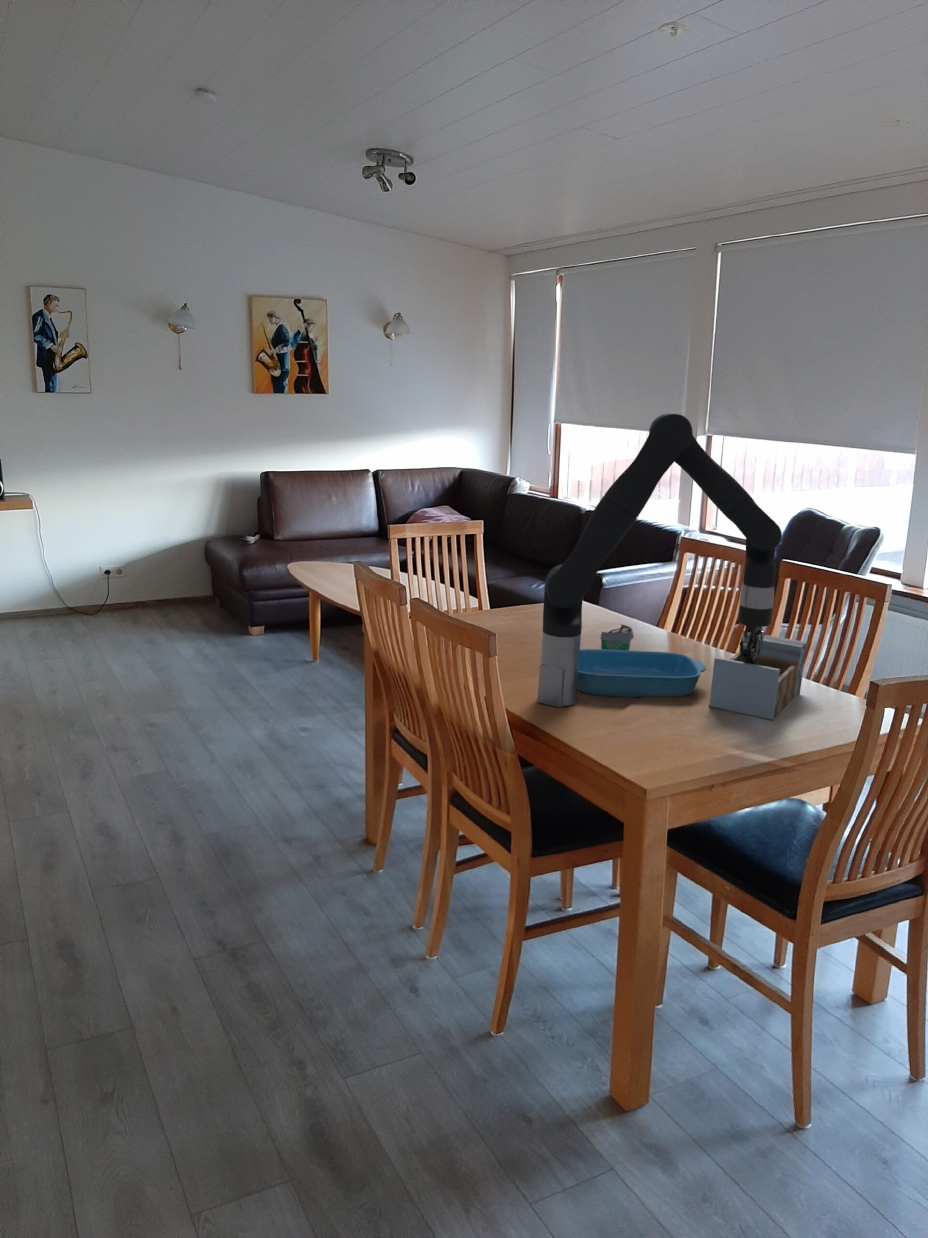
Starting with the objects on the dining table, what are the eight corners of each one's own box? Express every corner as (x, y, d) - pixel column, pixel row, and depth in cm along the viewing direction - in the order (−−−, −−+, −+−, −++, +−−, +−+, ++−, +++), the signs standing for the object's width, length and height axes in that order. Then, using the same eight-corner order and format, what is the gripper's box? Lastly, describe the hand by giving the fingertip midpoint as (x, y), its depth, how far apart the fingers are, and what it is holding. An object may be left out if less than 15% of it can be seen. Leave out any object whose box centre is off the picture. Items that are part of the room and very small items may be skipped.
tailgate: (773, 722, 219) (780, 670, 216) (707, 708, 227) (713, 658, 224) (774, 721, 220) (781, 669, 217) (709, 707, 228) (714, 656, 225)
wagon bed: (773, 723, 221) (780, 665, 217) (710, 709, 228) (716, 653, 225) (799, 694, 242) (806, 642, 239) (741, 682, 250) (747, 631, 246)
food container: (618, 672, 255) (621, 636, 252) (598, 667, 258) (600, 632, 256) (639, 662, 264) (642, 628, 262) (619, 657, 268) (622, 623, 265)
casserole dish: (561, 698, 232) (563, 670, 231) (556, 671, 254) (558, 645, 252) (711, 705, 232) (714, 678, 230) (693, 677, 253) (696, 652, 251)
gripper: (765, 611, 212) (756, 684, 216) (779, 600, 223) (771, 670, 227) (732, 606, 216) (724, 678, 220) (747, 595, 227) (740, 664, 231)
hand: (748, 674), depth 224 cm, fingers closed
